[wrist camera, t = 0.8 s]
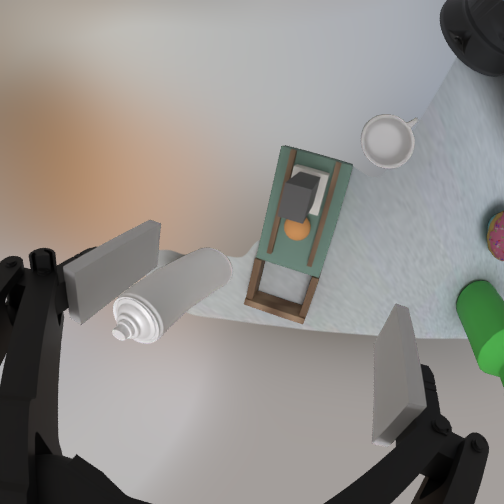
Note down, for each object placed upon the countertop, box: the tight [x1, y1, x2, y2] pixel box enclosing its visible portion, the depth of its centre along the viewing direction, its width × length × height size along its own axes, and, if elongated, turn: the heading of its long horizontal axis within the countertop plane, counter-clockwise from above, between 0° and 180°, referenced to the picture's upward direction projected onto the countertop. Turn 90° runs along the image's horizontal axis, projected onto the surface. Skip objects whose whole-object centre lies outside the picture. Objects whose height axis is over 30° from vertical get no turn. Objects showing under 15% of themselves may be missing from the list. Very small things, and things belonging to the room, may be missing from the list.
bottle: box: [456, 281, 504, 387], centre depth 35 cm, size 9×9×25 cm
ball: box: [284, 218, 311, 241], centre depth 46 cm, size 4×4×4 cm
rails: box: [267, 149, 342, 267], centre depth 47 cm, size 8×17×1 cm, turn 168°
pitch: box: [256, 145, 353, 278], centre depth 49 cm, size 11×19×3 cm, turn 168°
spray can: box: [112, 248, 233, 344], centre depth 49 cm, size 12×11×25 cm
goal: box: [244, 258, 320, 324], centre depth 55 cm, size 11×9×4 cm
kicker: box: [277, 164, 330, 224], centre depth 40 cm, size 5×6×13 cm
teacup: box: [361, 114, 419, 169], centre depth 39 cm, size 10×8×5 cm
